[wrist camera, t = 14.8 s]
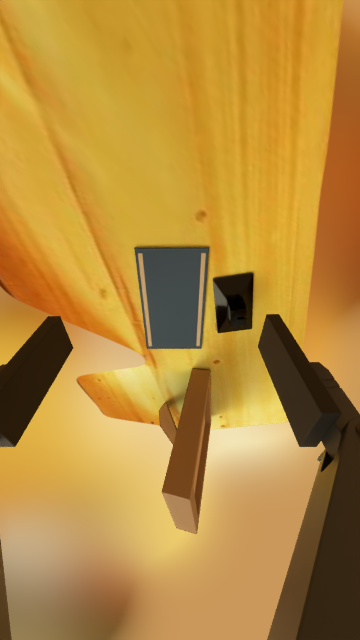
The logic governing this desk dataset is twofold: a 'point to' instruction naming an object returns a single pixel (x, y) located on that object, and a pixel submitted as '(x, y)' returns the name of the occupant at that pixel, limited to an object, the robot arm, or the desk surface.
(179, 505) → the photo frame
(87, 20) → the desk surface
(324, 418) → the robot arm
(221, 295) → the build plate
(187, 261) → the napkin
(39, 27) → the desk surface
